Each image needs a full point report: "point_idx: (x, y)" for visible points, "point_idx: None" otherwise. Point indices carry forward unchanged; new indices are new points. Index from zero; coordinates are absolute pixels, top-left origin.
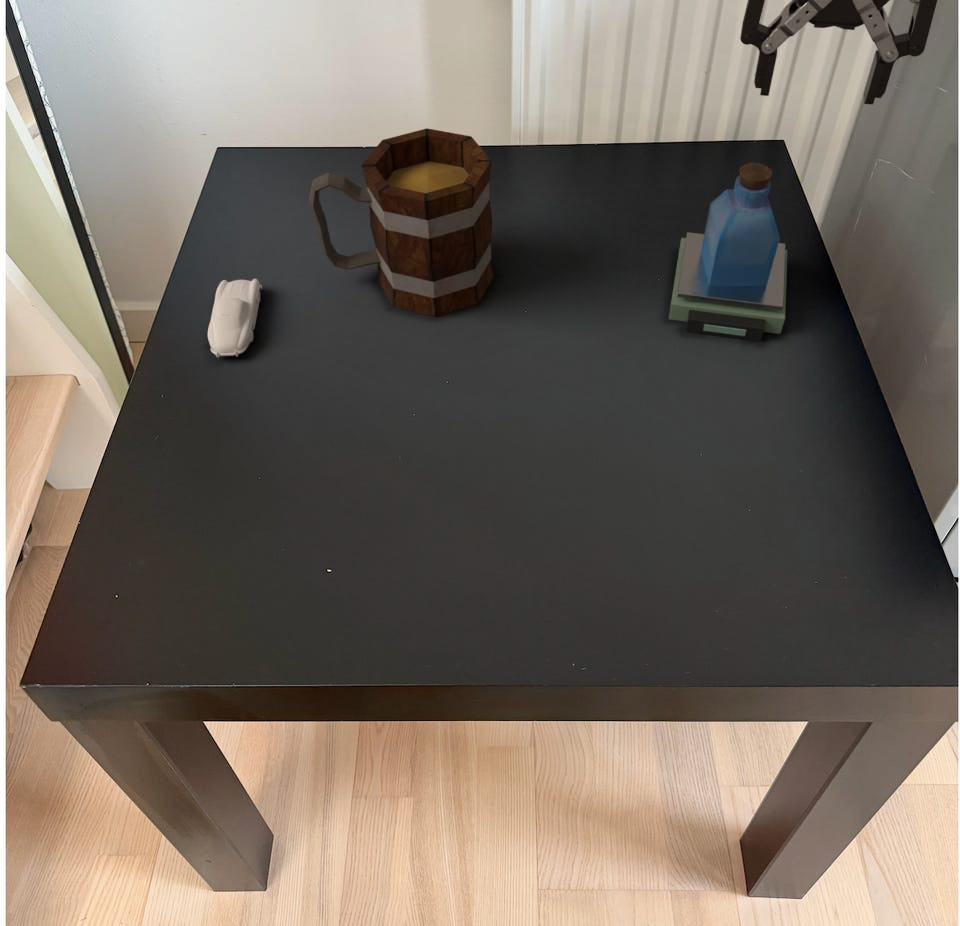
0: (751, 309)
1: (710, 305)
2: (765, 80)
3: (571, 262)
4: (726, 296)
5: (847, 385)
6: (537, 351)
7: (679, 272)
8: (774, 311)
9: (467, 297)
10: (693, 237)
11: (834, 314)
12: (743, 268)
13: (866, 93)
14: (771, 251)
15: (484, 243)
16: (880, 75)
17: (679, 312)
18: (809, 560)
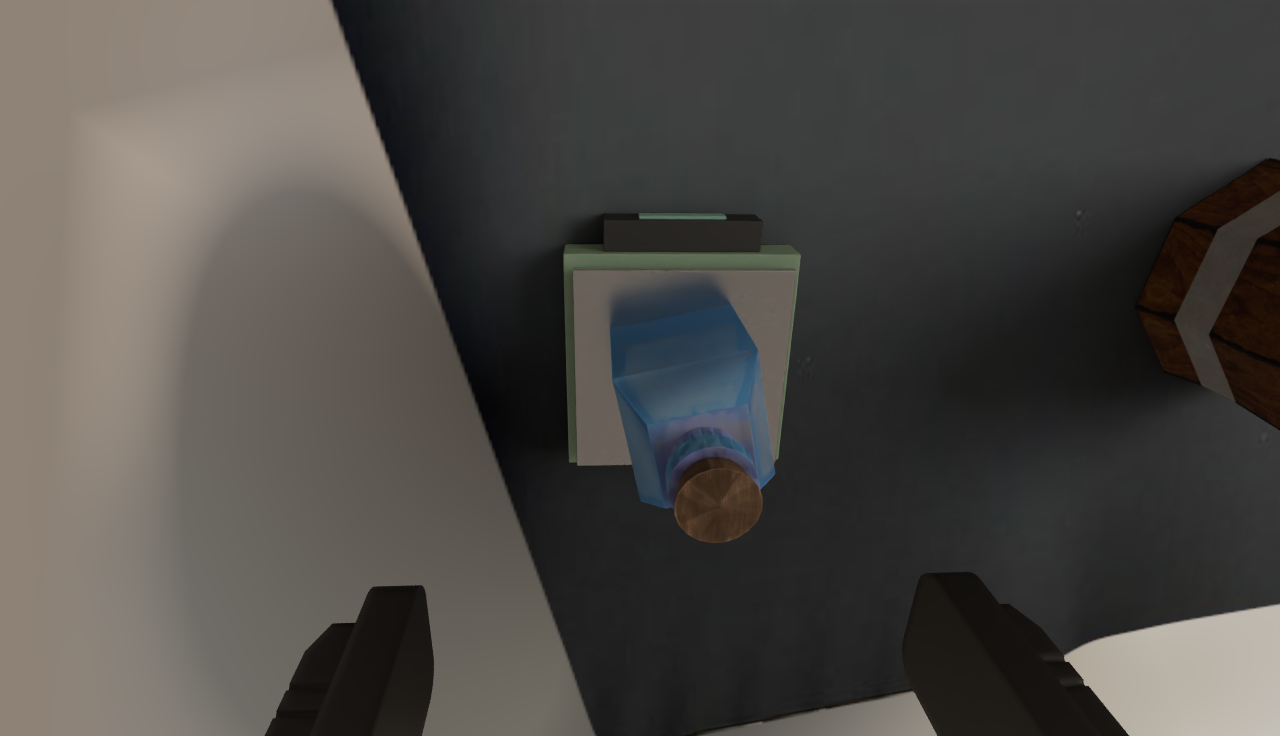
0: None
1: (719, 266)
2: (1006, 632)
3: (977, 375)
4: (693, 280)
5: (419, 112)
6: (1064, 90)
7: None
8: None
9: (1217, 210)
10: None
11: (463, 324)
12: (672, 334)
13: (414, 641)
14: (622, 362)
15: (1254, 302)
16: (319, 733)
17: (776, 249)
18: None
